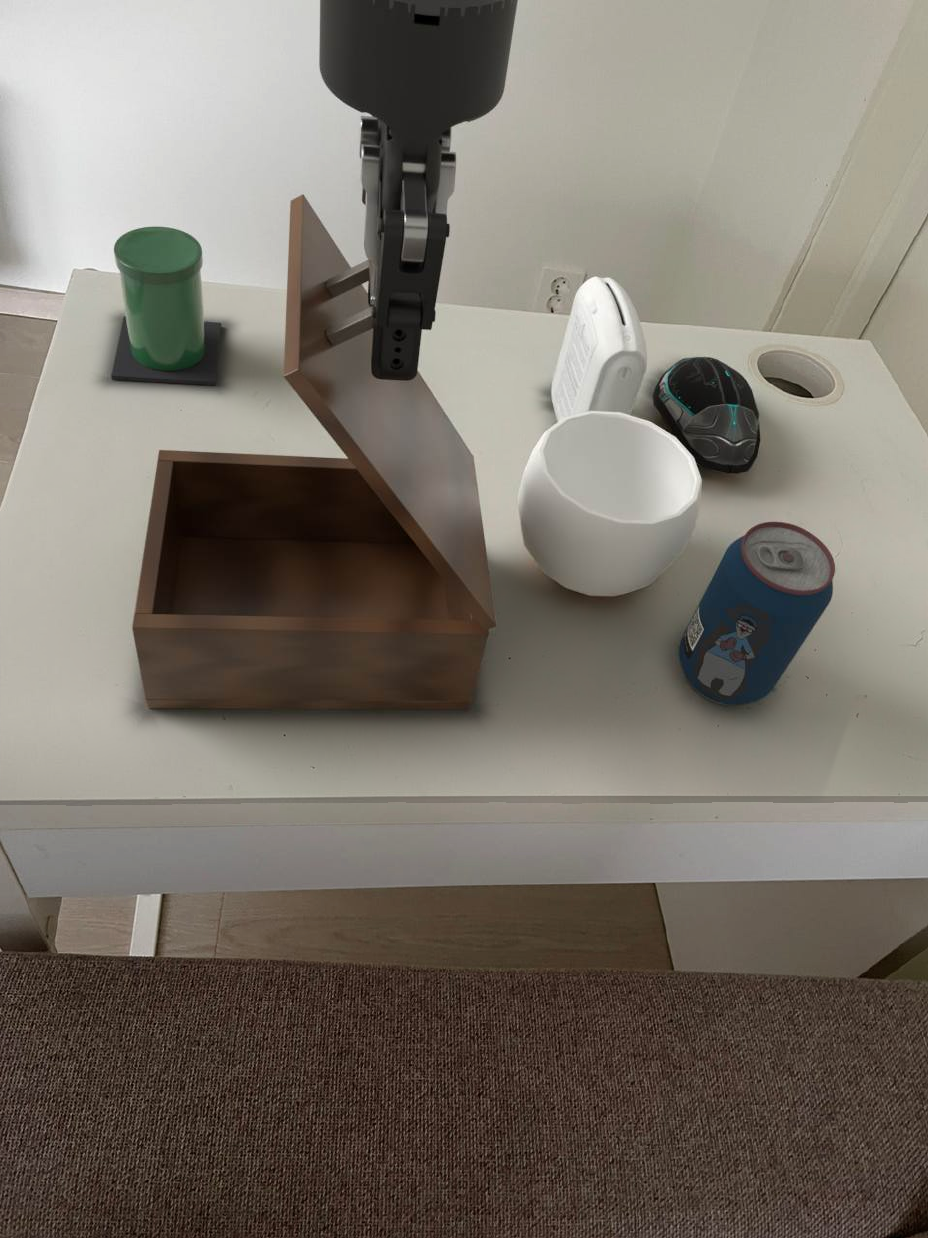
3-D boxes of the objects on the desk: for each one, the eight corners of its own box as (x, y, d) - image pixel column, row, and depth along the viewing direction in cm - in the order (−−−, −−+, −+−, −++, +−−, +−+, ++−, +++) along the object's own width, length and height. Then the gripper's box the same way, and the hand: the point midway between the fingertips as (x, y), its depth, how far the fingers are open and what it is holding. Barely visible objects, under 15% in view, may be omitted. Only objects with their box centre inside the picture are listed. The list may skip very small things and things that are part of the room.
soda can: (759, 637, 72) (830, 519, 63) (779, 718, 67) (858, 604, 58) (666, 628, 71) (723, 508, 62) (680, 710, 67) (744, 593, 57)
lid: (282, 376, 43) (385, 328, 41) (290, 200, 52) (374, 155, 50) (484, 631, 58) (564, 602, 56) (462, 460, 67) (531, 432, 65)
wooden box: (147, 708, 61) (131, 627, 55) (169, 535, 70) (158, 449, 64) (469, 710, 64) (489, 633, 58) (451, 544, 73) (467, 463, 67)
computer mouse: (730, 370, 92) (753, 316, 88) (770, 498, 82) (798, 444, 77) (639, 360, 91) (657, 306, 87) (668, 489, 80) (690, 434, 76)
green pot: (123, 370, 80) (108, 269, 73) (132, 322, 84) (119, 222, 77) (205, 375, 81) (198, 276, 74) (211, 327, 85) (205, 229, 78)
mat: (111, 379, 79) (111, 375, 79) (124, 319, 84) (123, 315, 84) (215, 385, 81) (214, 381, 80) (221, 326, 86) (221, 322, 85)
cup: (547, 480, 79) (575, 381, 72) (690, 547, 77) (734, 452, 69) (475, 576, 72) (497, 476, 64) (631, 654, 69) (673, 560, 62)
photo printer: (618, 471, 81) (663, 343, 72) (568, 471, 80) (606, 341, 71) (591, 390, 87) (629, 263, 78) (544, 388, 86) (576, 260, 77)
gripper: (321, -118, 41) (316, 256, 54) (320, 26, 32) (314, 432, 45) (500, -96, 42) (453, 265, 55) (547, 48, 33) (478, 438, 46)
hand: (391, 338), depth 50 cm, fingers closed on lid, 5 cm apart
